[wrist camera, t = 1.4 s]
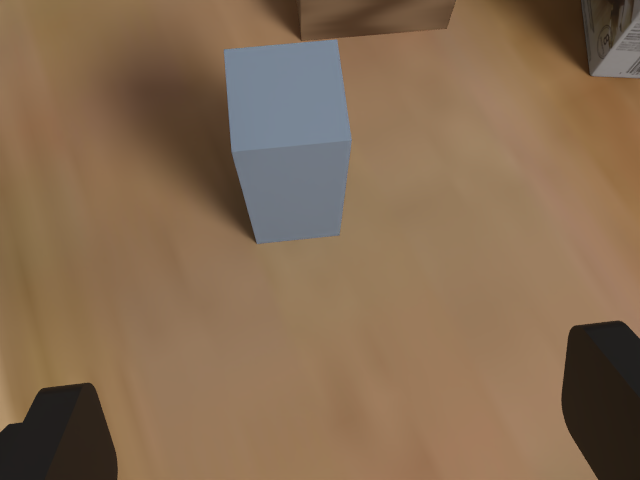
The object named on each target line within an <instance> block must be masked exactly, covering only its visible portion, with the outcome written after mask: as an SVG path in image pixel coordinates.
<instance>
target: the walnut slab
mask: <svg viewBox="0 0 640 480" xmlns="http://www.w3.org/2000/svg"><path fill="white" fill-rule="evenodd" d="M455 2H456V0H297V7H298V16H299V24H300V33H301V41H306V40H318V39H330V38H342V37H354V36H366V35H378V34H390V33H401V32H413V31H425V30H437V29H447V26H448V23H449V20H450V17H451V14H452V11H453V8H454V5H455Z"/></svg>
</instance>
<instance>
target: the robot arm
mask: <svg viewBox="0 0 640 480" xmlns="http://www.w3.org/2000/svg"><path fill="white" fill-rule="evenodd" d="M561 401H562V411H563V415H564V419H565V423H566V425H567V428H568V430H569V432H570V434H571V436H572V438H573V439H574V441H575V443H576V444H577V446H578V447H579V449H580V451H581V452H582V454H583V456H584V457H585V459H586V460H587V462H588V464H589V465H590V467H591V469H592V470H593V472H594V473H595V475H596V477H597V478H598V480H640V339H639V338H638V337H637V335H636V334H635V333H634V332H633V331H632V330H631V329H630V328H629V327H628V326H627V325H626V324H625V323H623V322H622V321H610V322H602V323H593V324H585V325H577V326H573V327H572V328H571V330H570V332H569V336H568V343H567V352H566V361H565V370H564V379H563V387H562V398H561ZM117 474H118V467H117V457H116V452H115V448H114V445H113V442H112V439H111V435H110V432H109V429H108V426H107V423H106V420H105V417H104V413H103V410H102V407H101V404H100V401H99V398H98V395H97V392H96V389H95V388H94V386H93V385H92V384H91V383H82V384H73V385H65V386H57V387H48V388H43V389H41V390H40V391H39V392H38V394H37V395H36V397H35V399H34V401H33V403H32V405H31V407H30V409H29V411H28V413H27V415H26V417H25V419H24V421H23V423H15V424H9V425H8V426H7V427H6V428H4V429H3V430H2V431H1V432H0V480H117Z"/></svg>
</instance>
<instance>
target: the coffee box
mask: <svg viewBox="0 0 640 480" xmlns="http://www.w3.org/2000/svg"><path fill="white" fill-rule="evenodd" d="M581 3H582V11H583V20H584V28H585V37H586V46H587V54H588V62H589V71H590V75H591V76H601V77H625V78H640V0H581Z"/></svg>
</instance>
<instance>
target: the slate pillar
mask: <svg viewBox="0 0 640 480" xmlns="http://www.w3.org/2000/svg"><path fill="white" fill-rule="evenodd" d="M224 57H225V71H226V84H227V98H228V111H229V124H230V138H231V151H232V155H233V159H234V163H235V166H236V170H237V173H238V177H239V181H240V184H241V188H242V191H243V195H244V199H245V202H246V206H247V209H248V213H249V217H250V220H251V224H252V227H253V231H254V235H255V238H256V242H257V244H260V243H270V242H280V241H289V240H299V239H309V238H318V237H328V236H338V235H340V227H341V219H342V211H343V204H344V196H345V188H346V180H347V172H348V165H349V157H350V149H351V141H352V140H351V133H350V126H349V119H348V112H347V105H346V98H345V91H344V84H343V77H342V70H341V63H340V56H339V49H338V42H337V40H326V41H315V42H304V43H292V44H281V45H270V46H258V47H247V48H236V49H224Z"/></svg>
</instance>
